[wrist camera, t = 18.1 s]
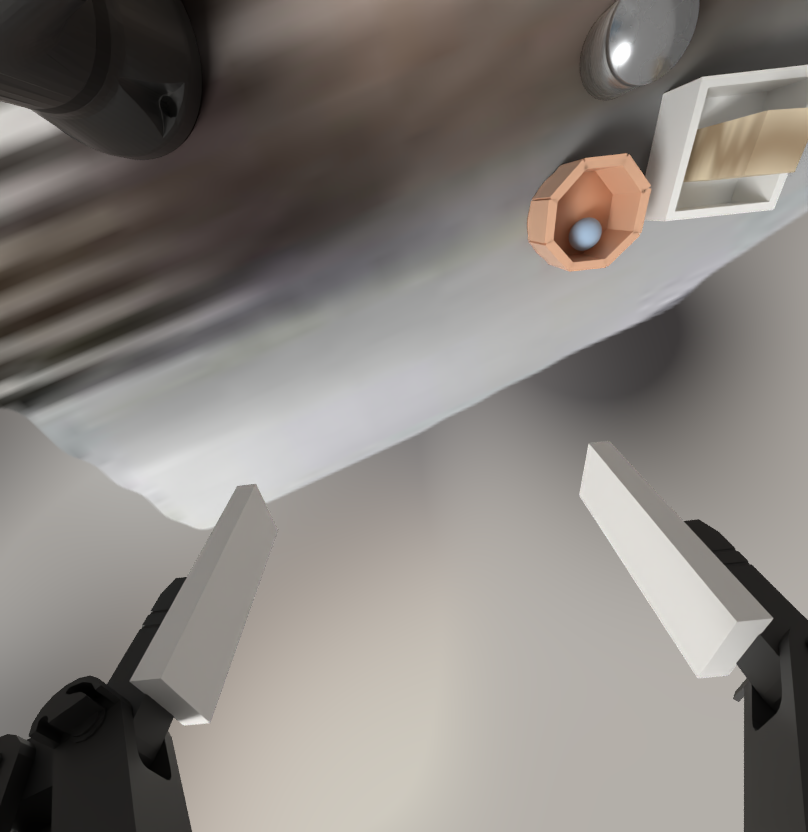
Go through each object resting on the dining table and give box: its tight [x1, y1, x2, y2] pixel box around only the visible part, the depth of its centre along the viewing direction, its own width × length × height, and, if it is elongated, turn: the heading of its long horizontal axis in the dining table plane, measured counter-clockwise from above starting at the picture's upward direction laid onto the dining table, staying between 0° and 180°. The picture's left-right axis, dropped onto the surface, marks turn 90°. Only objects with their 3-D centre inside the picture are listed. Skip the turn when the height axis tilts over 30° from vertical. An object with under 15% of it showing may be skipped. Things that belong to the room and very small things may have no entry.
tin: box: [580, 0, 699, 100], centre depth 28 cm, size 6×6×5 cm
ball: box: [569, 217, 602, 251], centre depth 35 cm, size 3×3×3 cm
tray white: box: [644, 65, 808, 221], centre depth 32 cm, size 10×10×5 cm
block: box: [683, 107, 808, 182], centre depth 30 cm, size 4×4×8 cm
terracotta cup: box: [527, 153, 651, 271], centre depth 34 cm, size 9×9×6 cm
